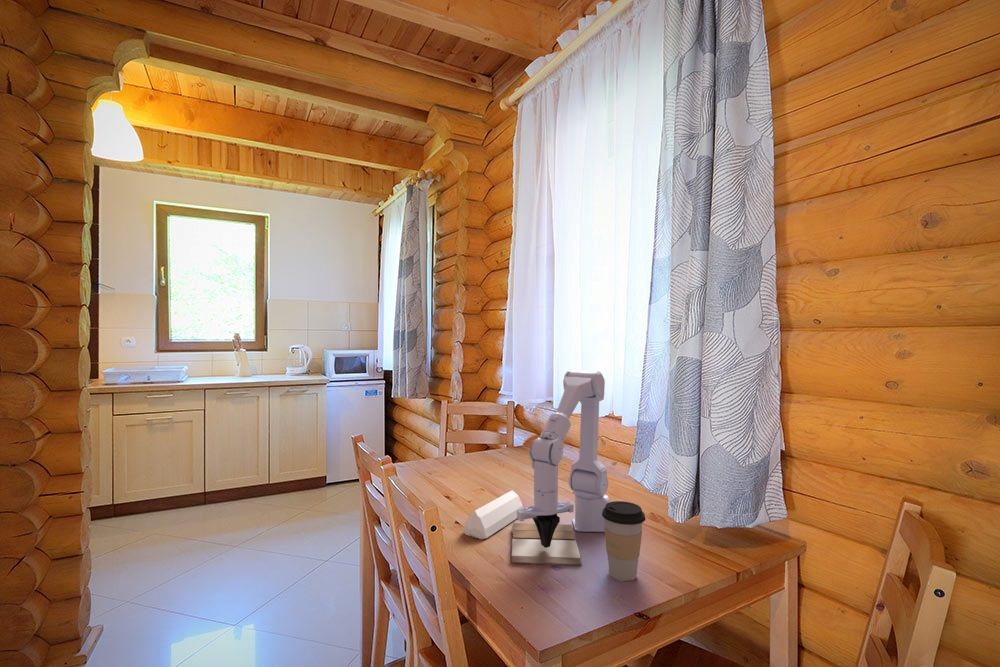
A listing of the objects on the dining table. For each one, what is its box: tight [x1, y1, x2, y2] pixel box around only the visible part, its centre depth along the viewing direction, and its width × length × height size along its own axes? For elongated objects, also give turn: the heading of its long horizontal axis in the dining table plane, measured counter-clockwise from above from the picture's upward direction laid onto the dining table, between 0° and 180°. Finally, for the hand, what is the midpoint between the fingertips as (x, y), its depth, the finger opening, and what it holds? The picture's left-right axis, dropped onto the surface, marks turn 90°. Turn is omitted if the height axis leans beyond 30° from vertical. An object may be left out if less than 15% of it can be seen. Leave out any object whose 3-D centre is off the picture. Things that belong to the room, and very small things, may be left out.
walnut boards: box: [511, 522, 576, 541], centre depth 122 cm, size 16×9×2 cm, turn 88°
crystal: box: [462, 489, 524, 540], centre depth 130 cm, size 7×7×24 cm
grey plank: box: [511, 538, 582, 565], centre depth 112 cm, size 16×9×2 cm, turn 88°
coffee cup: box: [602, 500, 646, 582], centre depth 104 cm, size 9×9×15 cm
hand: (545, 545), depth 111 cm, fingers closed
